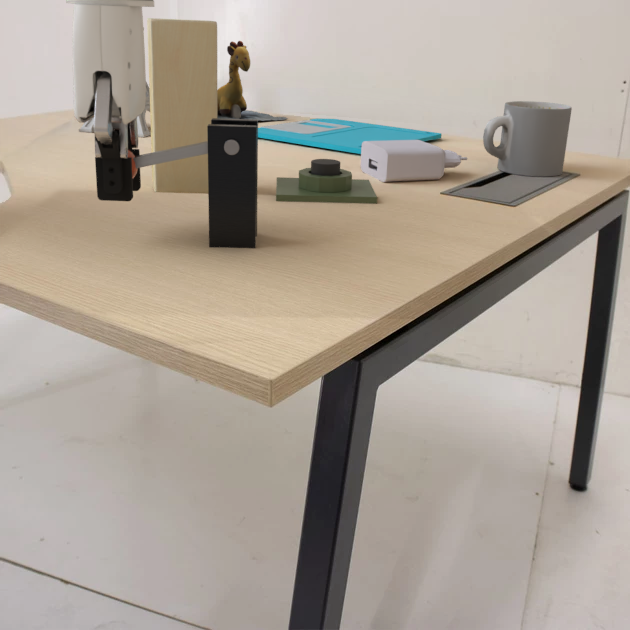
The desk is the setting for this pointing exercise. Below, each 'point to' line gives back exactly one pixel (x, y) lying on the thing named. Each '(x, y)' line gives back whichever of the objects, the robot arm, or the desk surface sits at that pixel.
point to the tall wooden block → (181, 98)
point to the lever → (167, 155)
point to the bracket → (232, 182)
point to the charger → (406, 160)
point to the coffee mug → (530, 138)
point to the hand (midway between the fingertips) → (119, 193)
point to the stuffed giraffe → (237, 89)
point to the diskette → (339, 133)
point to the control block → (325, 188)
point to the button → (325, 167)
